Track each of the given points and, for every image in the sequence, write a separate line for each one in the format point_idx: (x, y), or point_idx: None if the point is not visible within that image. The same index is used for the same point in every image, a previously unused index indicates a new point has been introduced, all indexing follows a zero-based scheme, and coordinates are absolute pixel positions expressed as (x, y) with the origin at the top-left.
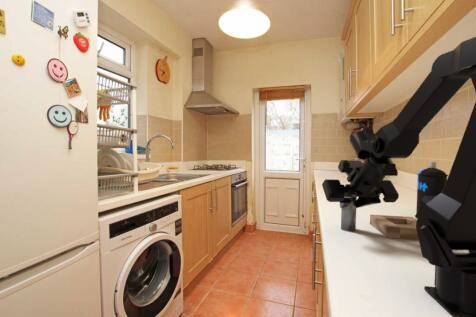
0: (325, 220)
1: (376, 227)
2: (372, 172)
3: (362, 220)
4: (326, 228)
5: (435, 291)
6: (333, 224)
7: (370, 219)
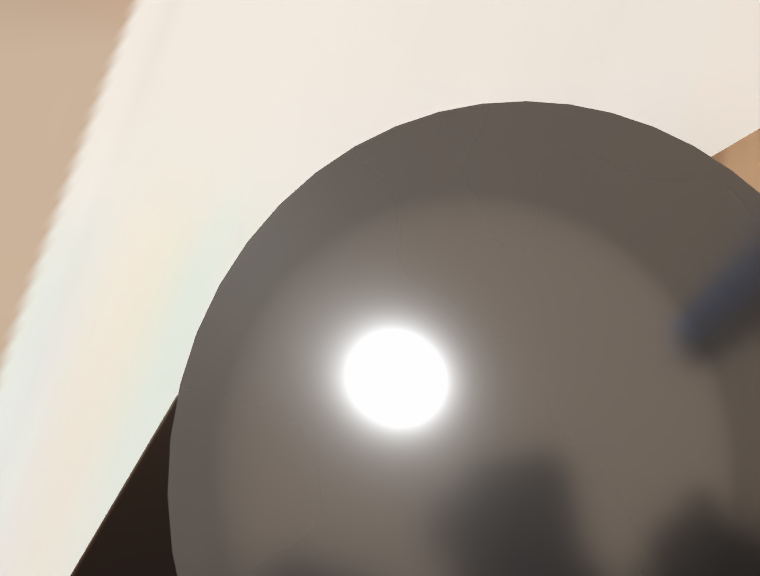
0: (139, 59)
1: None
2: None
3: (654, 29)
4: (14, 443)
5: None
6: (195, 238)
7: (733, 159)
